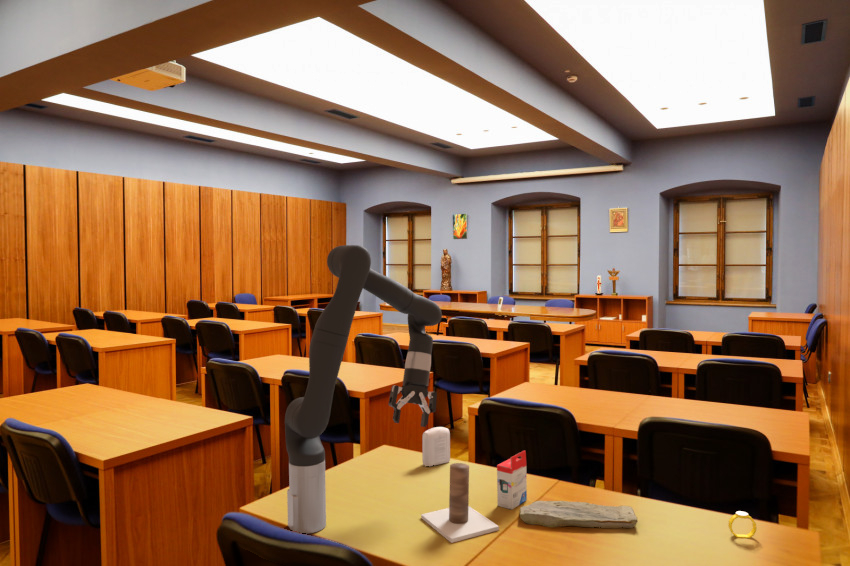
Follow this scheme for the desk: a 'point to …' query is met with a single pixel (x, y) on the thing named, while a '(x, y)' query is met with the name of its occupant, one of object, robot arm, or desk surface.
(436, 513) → the white mat
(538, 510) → the stone slab
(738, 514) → the gold ring
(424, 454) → the white rounded slab
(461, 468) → the slanted wooden cylinder
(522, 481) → the ink box
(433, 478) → the desk surface
